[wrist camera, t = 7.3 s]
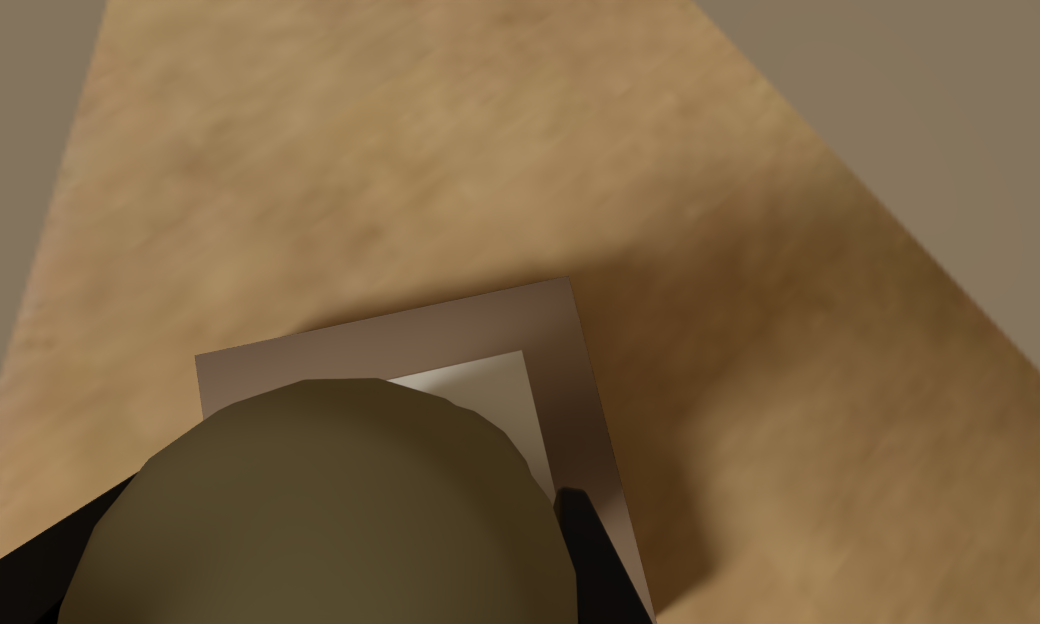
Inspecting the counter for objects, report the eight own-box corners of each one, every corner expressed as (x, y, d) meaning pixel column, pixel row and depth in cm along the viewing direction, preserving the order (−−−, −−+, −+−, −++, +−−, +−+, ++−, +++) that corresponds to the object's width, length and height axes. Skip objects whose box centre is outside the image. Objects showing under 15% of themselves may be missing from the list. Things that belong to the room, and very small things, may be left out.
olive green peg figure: (562, 622, 16) (735, 1013, 5) (314, 676, 15) (-114, 1256, 4) (517, 381, 17) (577, 263, 6) (286, 422, 16) (-106, 375, 5)
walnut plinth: (639, 628, 20) (667, 662, 17) (288, 725, 19) (251, 779, 16) (556, 297, 22) (569, 274, 19) (234, 367, 21) (192, 355, 18)
